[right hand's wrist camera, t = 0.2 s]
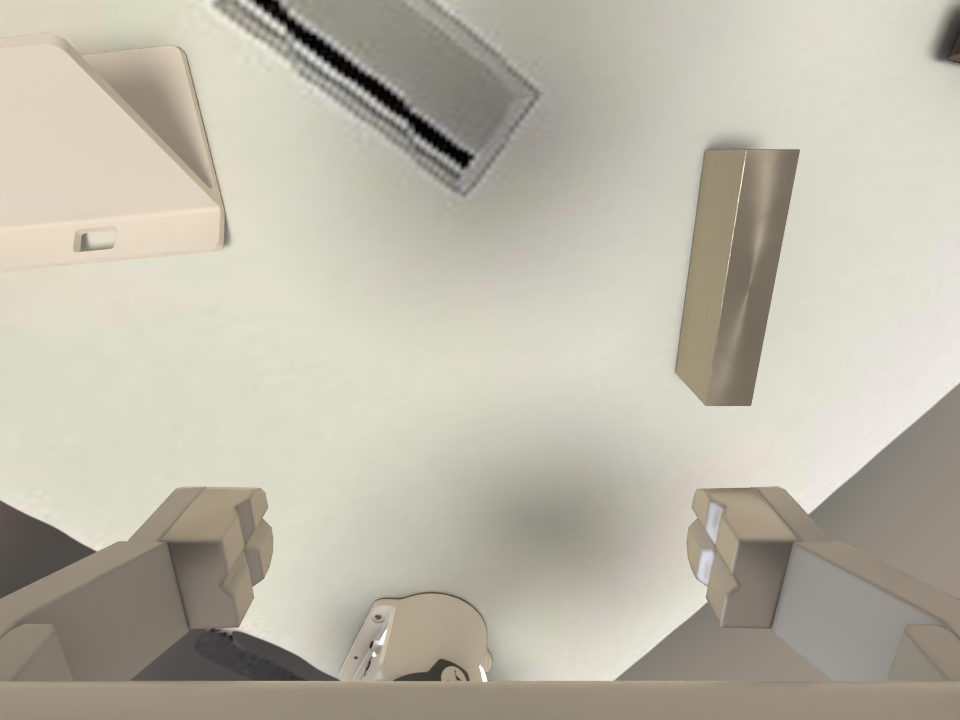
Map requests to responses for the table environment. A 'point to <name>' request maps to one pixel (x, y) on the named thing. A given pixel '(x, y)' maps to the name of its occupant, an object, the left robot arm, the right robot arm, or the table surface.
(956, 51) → the toy
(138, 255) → the tablet stand
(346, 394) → the table surface
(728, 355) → the bar
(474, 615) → the left robot arm
